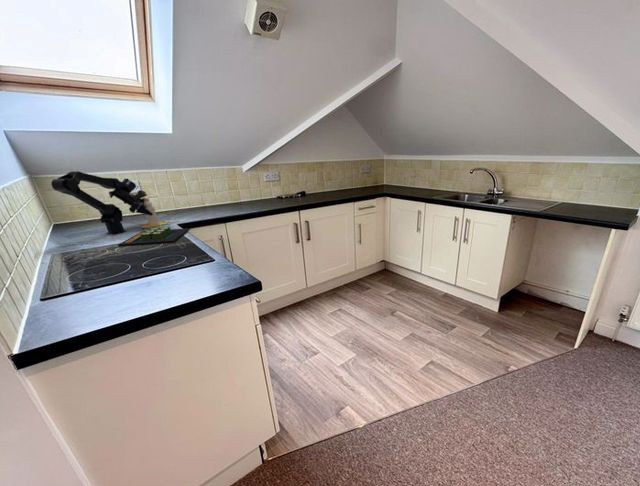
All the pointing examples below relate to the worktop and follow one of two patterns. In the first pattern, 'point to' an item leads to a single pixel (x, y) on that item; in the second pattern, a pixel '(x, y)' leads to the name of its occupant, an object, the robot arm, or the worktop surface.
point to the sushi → (155, 236)
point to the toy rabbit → (151, 219)
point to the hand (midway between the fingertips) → (153, 213)
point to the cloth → (154, 226)
